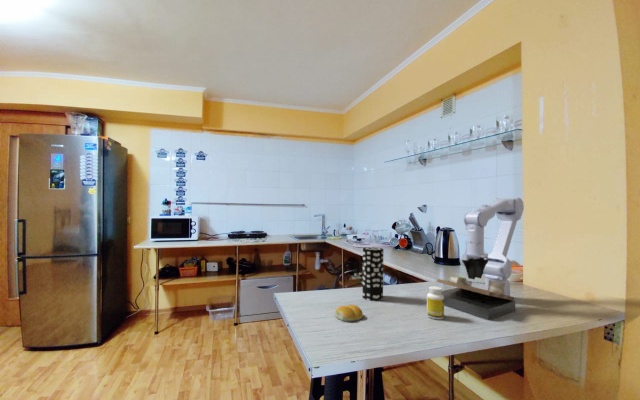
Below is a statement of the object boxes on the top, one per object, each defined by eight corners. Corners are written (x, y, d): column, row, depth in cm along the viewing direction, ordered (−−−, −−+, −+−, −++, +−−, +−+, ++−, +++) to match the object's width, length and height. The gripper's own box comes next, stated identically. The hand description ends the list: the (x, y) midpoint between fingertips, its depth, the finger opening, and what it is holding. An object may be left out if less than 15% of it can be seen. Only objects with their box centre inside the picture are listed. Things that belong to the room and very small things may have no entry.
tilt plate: (462, 287, 119) (463, 274, 120) (513, 300, 102) (515, 286, 103) (437, 281, 111) (439, 268, 112) (489, 295, 94) (491, 280, 95)
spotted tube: (367, 293, 120) (368, 246, 121) (386, 297, 116) (386, 248, 116) (358, 298, 114) (359, 248, 114) (377, 302, 109) (378, 250, 110)
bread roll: (367, 318, 93) (367, 306, 93) (346, 324, 88) (346, 311, 88) (351, 311, 100) (351, 299, 100) (330, 315, 95) (331, 303, 95)
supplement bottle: (445, 320, 92) (445, 290, 92) (428, 319, 93) (428, 289, 93) (442, 314, 97) (442, 286, 97) (425, 313, 98) (425, 285, 98)
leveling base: (460, 295, 120) (460, 286, 120) (515, 311, 102) (515, 301, 102) (433, 301, 111) (433, 292, 111) (488, 320, 92) (488, 309, 93)
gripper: (474, 244, 101) (474, 282, 100) (496, 243, 108) (496, 278, 107) (456, 242, 107) (455, 278, 106) (478, 241, 114) (477, 275, 113)
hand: (474, 278), depth 107 cm, fingers open, 4 cm apart
